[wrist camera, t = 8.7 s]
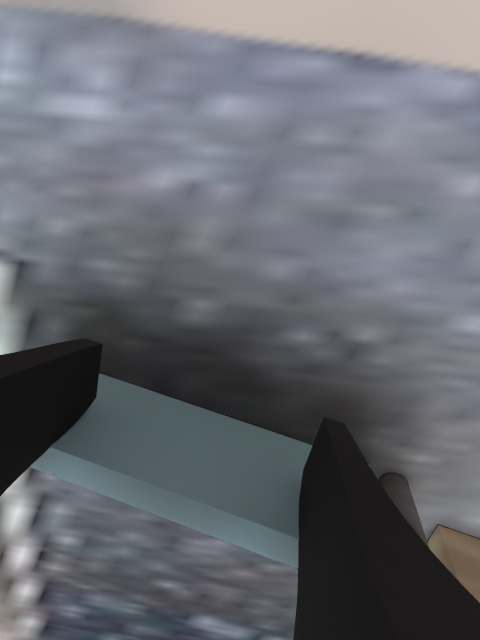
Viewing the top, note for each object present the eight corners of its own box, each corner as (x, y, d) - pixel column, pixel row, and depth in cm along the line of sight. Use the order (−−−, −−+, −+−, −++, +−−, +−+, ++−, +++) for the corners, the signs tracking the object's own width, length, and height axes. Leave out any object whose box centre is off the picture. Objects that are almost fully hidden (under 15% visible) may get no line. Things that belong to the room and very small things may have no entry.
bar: (360, 485, 13) (377, 599, 9) (64, 383, 14) (-25, 446, 11) (370, 464, 13) (392, 573, 9) (65, 361, 14) (-26, 419, 10)
